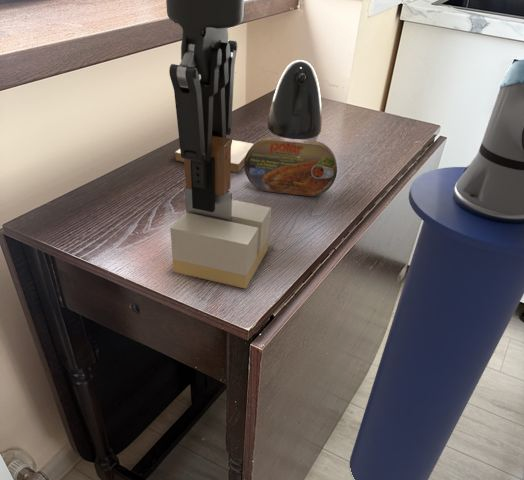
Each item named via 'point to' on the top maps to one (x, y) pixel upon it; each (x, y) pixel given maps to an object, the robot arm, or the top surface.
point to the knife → (222, 181)
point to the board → (237, 154)
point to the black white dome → (296, 104)
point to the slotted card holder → (222, 244)
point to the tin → (290, 166)
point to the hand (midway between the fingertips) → (208, 203)
